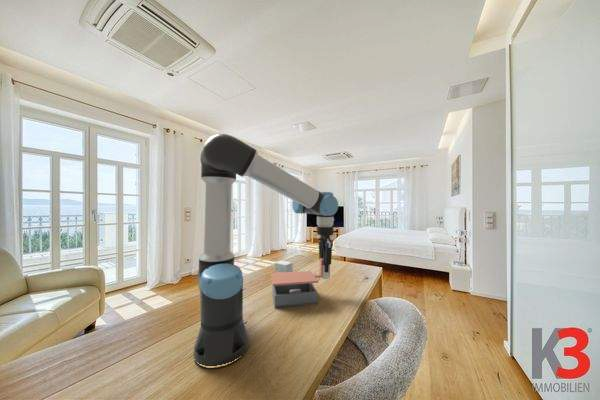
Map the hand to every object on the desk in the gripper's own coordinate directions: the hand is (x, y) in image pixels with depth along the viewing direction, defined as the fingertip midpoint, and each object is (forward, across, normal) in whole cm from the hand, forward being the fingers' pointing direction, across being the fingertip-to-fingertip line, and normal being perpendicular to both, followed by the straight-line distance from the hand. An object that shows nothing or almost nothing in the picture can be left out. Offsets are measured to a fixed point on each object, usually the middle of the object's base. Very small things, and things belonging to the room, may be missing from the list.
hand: (324, 277), depth 95 cm
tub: (+9, 0, +14) cm, 17 cm away
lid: (0, 0, +11) cm, 11 cm away
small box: (+9, +20, +16) cm, 27 cm away
